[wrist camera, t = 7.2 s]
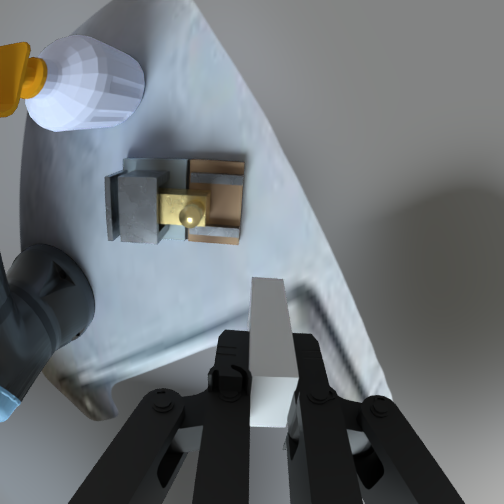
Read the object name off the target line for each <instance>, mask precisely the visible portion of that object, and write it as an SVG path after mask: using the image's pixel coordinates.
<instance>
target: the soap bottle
mask: <svg viewBox="0 0 504 504" xmlns="http://www.w3.org/2000/svg"><path fill="white" fill-rule="evenodd" d="M30 51H31V49H30V45H29V44H28V43H27V42H20V43H14V44H9V45H4V46H0V118H1V117H8V116H10V115H12V114H13V113H14V111H15V110H16V109H17V107H18V104H19V100H20V98H22V99H25V105H26V107H27V110H28V112H29V115H30V117H31V118H32V119H33V120H34V121H35V122H36V123H37V124H38V125H40V126H41V127H43V128H45V129H48V130H51V131H54V132H59V131H68V130H79V129H92V128H105V127H114V126H116V125H118V124H120V123H122V122H124V121H125V120H126V119H127V118H129V117H130V116H131V115H132V114H133V113H134V112H135V110H136V108H137V107H138V105H139V103H140V102H141V100H142V96H143V92H144V88H145V81H144V72H143V70H142V69H141V67H140V65H139V63H138V62H137V61H136V60H135V59H134V58H132V57H131V56H130V55H128V54H126V53H124V52H122V51H120V50H118V49H116V48H114V47H112V46H110V45H107V44H105V43H103V42H101V41H99V40H97V39H94V38H92V37H90V36H84V35H77V34H76V35H71V36H68V37H64V38H61V39H57V40H55V41H54V42H52V43H51V44H50V45H48V46H47V47H45V48H44V49H43V51H42V52H41V53H40V54H39V55H38V56H37V58H35V57H31V58H29V55H30Z"/></svg>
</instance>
